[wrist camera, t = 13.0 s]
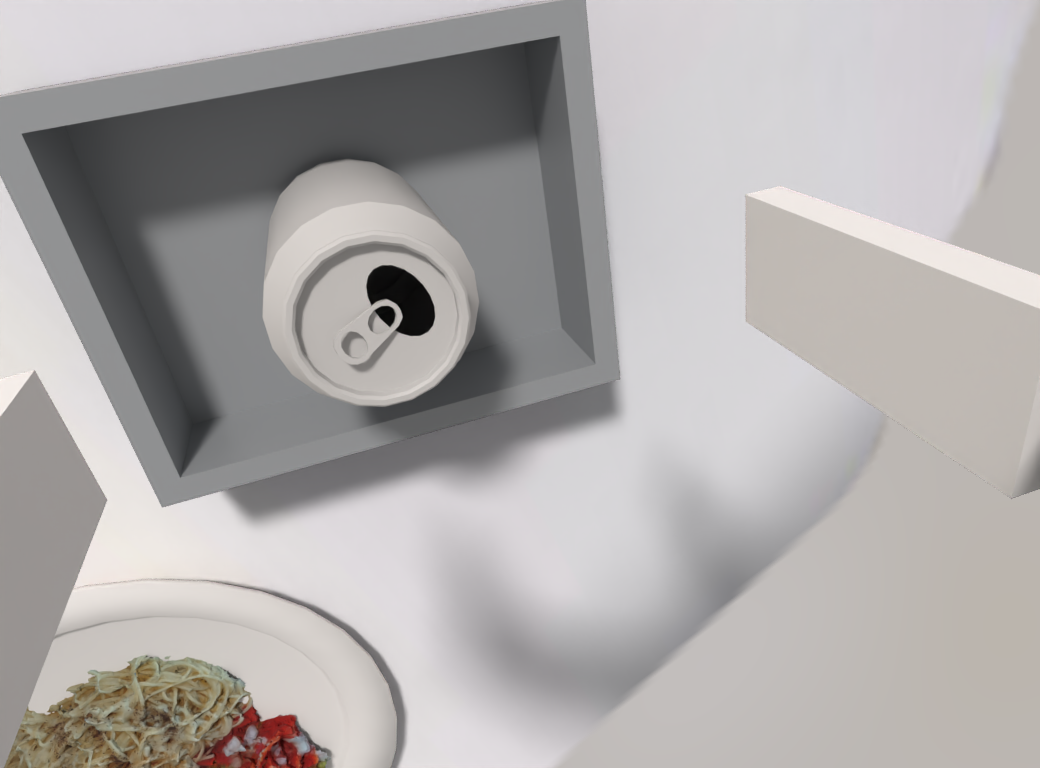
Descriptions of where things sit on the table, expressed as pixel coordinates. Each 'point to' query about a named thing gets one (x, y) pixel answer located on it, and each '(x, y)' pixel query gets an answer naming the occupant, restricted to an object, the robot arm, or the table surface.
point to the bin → (250, 203)
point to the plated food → (203, 684)
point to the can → (365, 286)
